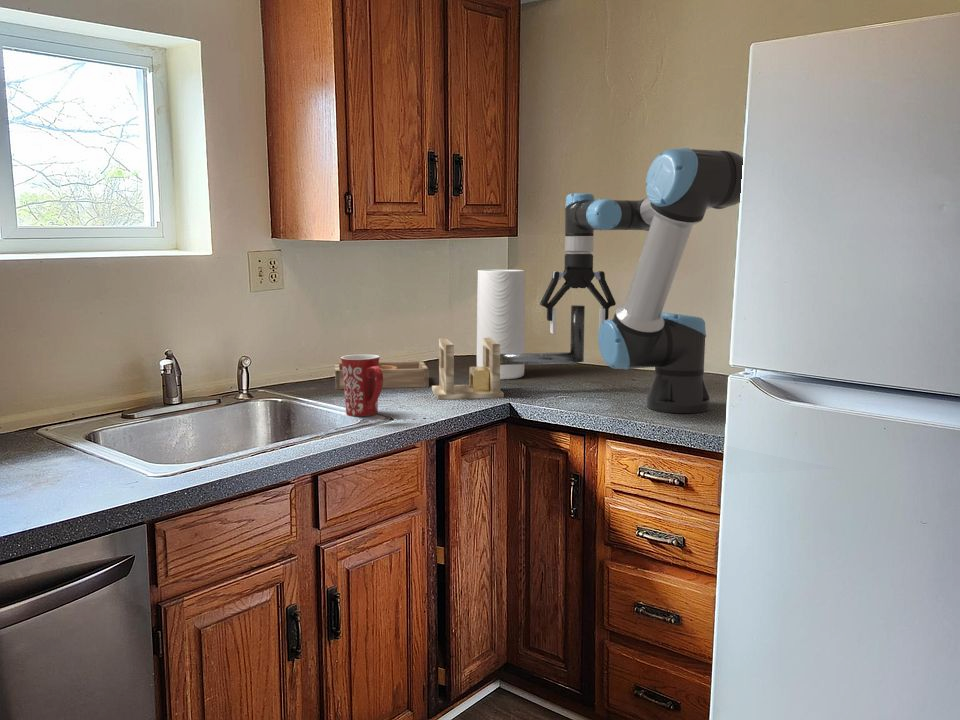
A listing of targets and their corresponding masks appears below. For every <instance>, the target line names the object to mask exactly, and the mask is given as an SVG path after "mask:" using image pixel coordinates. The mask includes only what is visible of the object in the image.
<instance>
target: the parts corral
mask: <svg viewBox="0 0 960 720" xmlns="http://www.w3.org/2000/svg"><path fill="white" fill-rule="evenodd" d="M382 365H390V366H396V367H397V369H381V370H382V373H383V386H382V389H394V388H397V389H398V388H399V389H400V388H427V387H430V386H429V382H430V381H429V378H430V377H429V367H428V366H427V365H426V363H425V362H424V361H423V360H421V361H419V360H418V361H417V360H415V361H379V368H382ZM334 378H335V380H334V381H335V390H344V381H343V369H342V362H335V363H334Z"/></svg>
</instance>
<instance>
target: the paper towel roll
mask: <svg viewBox="0 0 960 720" xmlns="http://www.w3.org/2000/svg"><path fill="white" fill-rule="evenodd" d="M525 271H526V270H523V269H479V270H477V292H476V293H477V296H476V297H477V299H476V301H477V303H476V304H477V307H476V311H477V312H476V367H478V366H483V338H491V339H493V340H495V341H496V342H498V343H500V354H511V353H526V347H525V346H526V343H525V342H526V337H525V335H526V327H525V326H526V325H525V324H526V310H525V309H526V306H525V305H526V302H525V301H526V300H525V299H526V295H525V294H526V291H525V290H526V285H525V282H526V280H525V278H526V277H525V276H526V275H525V273H526V272H525ZM525 365H526V364H524V365H500V381H503V380H505V379H506V380H515V379H520V378H522V377H523V376H524V375H525Z"/></svg>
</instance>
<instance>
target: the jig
mask: <svg viewBox="0 0 960 720" xmlns="http://www.w3.org/2000/svg"><path fill="white" fill-rule="evenodd" d="M454 348H455V345H454V343H452V342H451V341H450V340H448V338H438V381H439V382H438V385H431V391H432V392H433V395H435V397H436V399H437V400H467V399H470V400H473V399H501V398H502V399H503V398H504V397H505V396H504V395H505V394H504V392H503V391H502V390H501V380H500V343H498V342H496V341H495V340H493V339H491V338H483V366H484V367H486V368H487V369H488V370H489V391H473V388H470V384H455V379H454V378H455V361H454V360H455V357H454V356H455V355H454V354H455V349H454ZM488 356H489V362H488Z"/></svg>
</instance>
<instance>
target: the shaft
mask: <svg viewBox="0 0 960 720" xmlns="http://www.w3.org/2000/svg"><path fill="white" fill-rule="evenodd" d="M585 308H586V307H585V305H583V304H581V305H580V304H579V305H578V304H577V305H576V304H575V305H574V304H573V305H571V306H570V352H568V351H567V352H525V353H511V354H500V365H524V364H525V365H555V364H556V365H561V364H578V363H584V357H585V355H584V354H585V319H586V318H585V313H586V312H585V310H586V309H585ZM488 362H489V356H488Z"/></svg>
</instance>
